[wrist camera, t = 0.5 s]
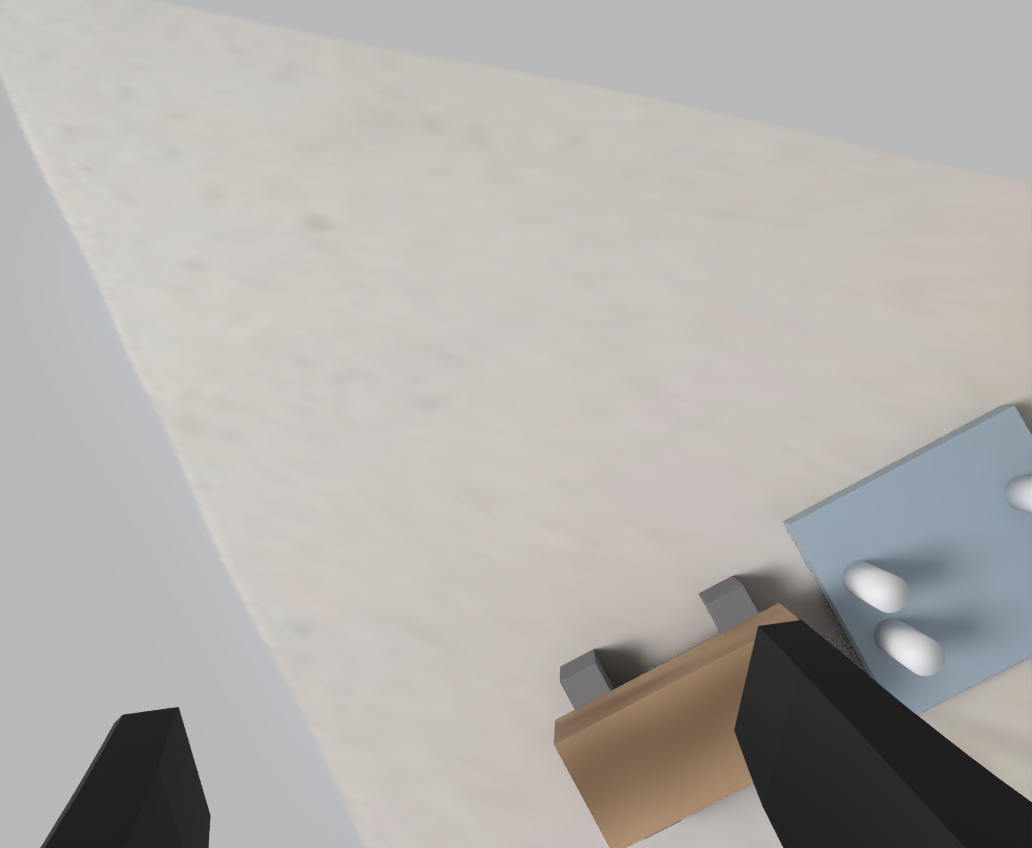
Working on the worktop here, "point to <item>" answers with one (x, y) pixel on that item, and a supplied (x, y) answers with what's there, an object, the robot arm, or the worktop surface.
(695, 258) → the worktop surface
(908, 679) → the peg base
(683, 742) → the shelf board
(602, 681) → the board rack
